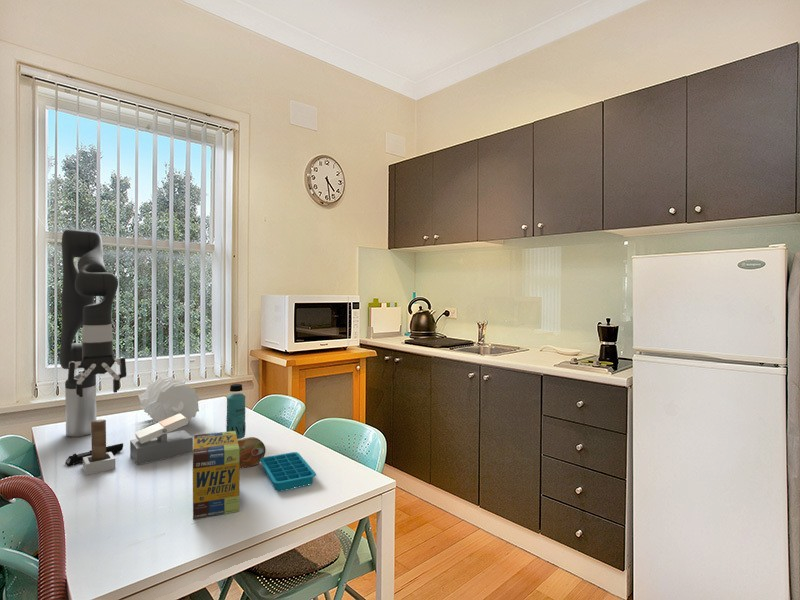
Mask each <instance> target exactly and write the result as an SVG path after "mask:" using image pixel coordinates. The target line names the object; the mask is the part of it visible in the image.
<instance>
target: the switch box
mask: <svg viewBox="0 0 800 600" xmlns="http://www.w3.org/2000/svg"><path fill="white" fill-rule="evenodd" d="M129 443H130V445H129V446H130V447H129V448H130V449H129V450H130V453H129V455H130V457H131V459H132V460H133V462H134V463H135V464H136V465H137V466H139V465H144V464H149V463H153V462H158V461H161V460H165V459H166V458H167V459H171V458H174V457H179V456H184V455H188V454H193V443H194V436H192V435H191V434H189V433H188V432H187V431H186V430H185V429H181V430H177V431H170V432H168V433H166V434H163V435H161V436H159V437H156V438H154V439H152V440H150V441H147V442H145V443H143V444H141V443H140V442H139V440H138V439H137V438H135V439H130V440H129Z"/></svg>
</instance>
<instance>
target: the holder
mask: <svg viewBox="0 0 800 600" xmlns="http://www.w3.org/2000/svg"><path fill="white" fill-rule="evenodd" d="M82 468H83V471H84V474H85V475H86V476H87V475H92V474H93V475H94V474H96V473H97V474H98V473H101V472H105V471H110V470H113V469H116V457H115V456H114V453H113V454H112V452H107V453H106V459H105V460H100V461H95V462H92V456H87V457H83V462H82Z"/></svg>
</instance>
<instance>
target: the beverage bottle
mask: <svg viewBox="0 0 800 600" xmlns="http://www.w3.org/2000/svg"><path fill="white" fill-rule="evenodd" d="M242 391H243V384H242V383H232V384H230V387H229V392H232V393H230V394H229V395H228V396H226V419H225V421H226V428H225V431H226V432H229V431H236V435H237V439H243V438H246V429H247V428H246V427H247V425H246V395H245V394H243V393H242Z"/></svg>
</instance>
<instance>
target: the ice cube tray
mask: <svg viewBox="0 0 800 600" xmlns="http://www.w3.org/2000/svg"><path fill="white" fill-rule="evenodd" d="M260 461H261V462H260V463H261V465H262V467H263V468H262V469H263V471H264V470H265V471H264V472H266V473H265V474H266V476H267V475H268V476H267V478H268V477H269V478H268V479H269V482H270V483H271V484H273V485H272V486H273V487H274V490H275V491H276V490H277V492H282V491H281V490H283V491H287V490H286V489H288V490H292V489H291V488H293V489H295V488H294V487H298V488H300V487H299V486H303V485H307V486H309V485H308V484H311V483H312V484H313V479H314V478H315V477H316V476H317V473H316V472H315V471H314V469H312V467H311V466H310V465H309V464H308V462H307V460H305V459H304V458H303V457H302V455H301V454H300V453H299V452H297V451H293V452H287V453H282V454H281V453H280V454H274V455H270V456H269V455H268V456H264V457H263V458H261V459H260ZM312 484H311V485H312ZM303 487H304V486H303Z"/></svg>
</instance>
